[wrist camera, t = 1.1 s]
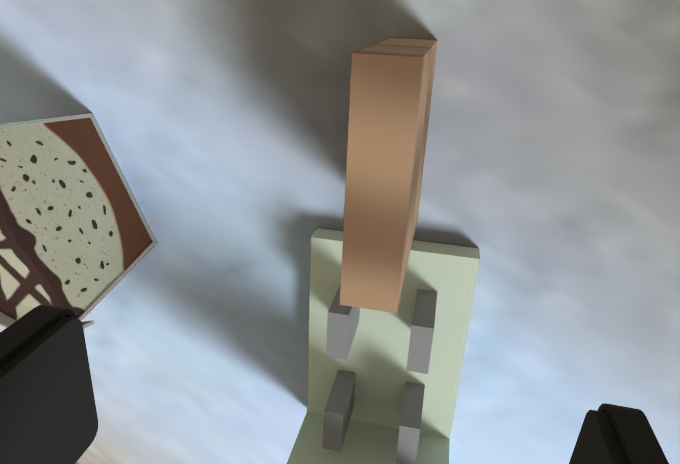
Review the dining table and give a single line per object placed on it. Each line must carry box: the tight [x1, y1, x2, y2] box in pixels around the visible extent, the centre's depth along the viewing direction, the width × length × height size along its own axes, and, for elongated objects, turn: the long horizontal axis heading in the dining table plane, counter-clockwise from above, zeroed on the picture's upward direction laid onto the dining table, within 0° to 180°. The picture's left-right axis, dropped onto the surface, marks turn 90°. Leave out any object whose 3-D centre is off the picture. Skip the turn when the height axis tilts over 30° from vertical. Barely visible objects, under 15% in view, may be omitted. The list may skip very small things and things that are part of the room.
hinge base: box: [287, 228, 480, 464], centre depth 27 cm, size 15×10×18 cm, turn 178°
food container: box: [0, 113, 157, 329], centre depth 31 cm, size 12×6×10 cm, turn 21°
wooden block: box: [340, 38, 437, 313], centre depth 25 cm, size 10×3×11 cm, turn 178°
